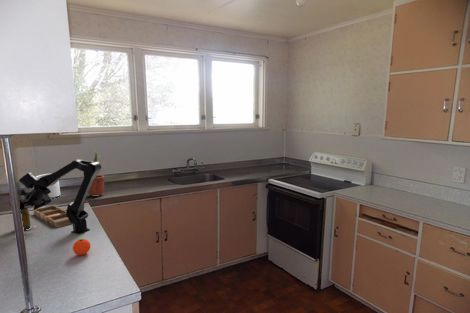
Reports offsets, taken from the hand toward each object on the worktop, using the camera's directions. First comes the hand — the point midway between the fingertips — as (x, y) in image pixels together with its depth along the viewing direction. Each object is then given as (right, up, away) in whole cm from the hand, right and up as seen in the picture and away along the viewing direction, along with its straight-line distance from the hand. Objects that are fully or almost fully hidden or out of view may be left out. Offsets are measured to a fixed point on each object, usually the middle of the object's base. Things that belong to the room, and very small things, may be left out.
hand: (25, 211), depth 159 cm
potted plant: (+5, -1, +65) cm, 66 cm away
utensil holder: (-28, -2, +65) cm, 71 cm away
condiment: (-2, -10, +2) cm, 10 cm away
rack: (+5, -7, +19) cm, 21 cm away
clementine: (+46, -13, -29) cm, 56 cm away
